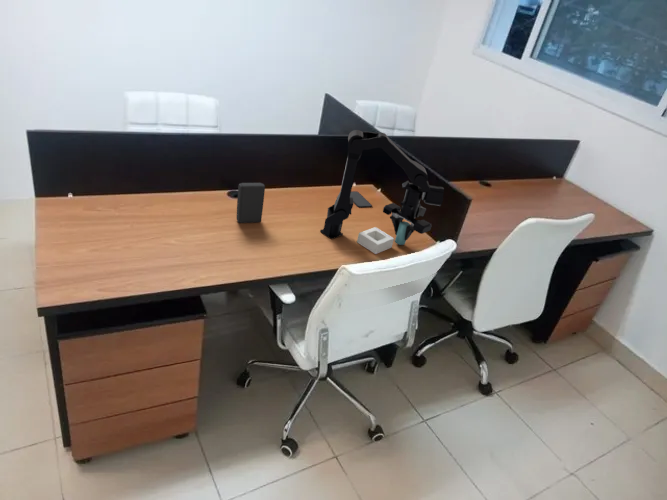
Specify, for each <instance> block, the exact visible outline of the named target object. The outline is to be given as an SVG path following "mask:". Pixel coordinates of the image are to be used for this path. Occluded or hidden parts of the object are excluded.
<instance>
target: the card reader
mask: <svg viewBox="0 0 667 500" xmlns="http://www.w3.org/2000/svg"><path fill="white" fill-rule="evenodd" d="M237 187H238V189H237V200H236V202H237V203H236V222H237V223H240V224H244V223H245V224H246V223H260V222H261V221H262V217H263V208H264V202H265V201H264V200H265V192H266V191H265V189H266V186H265V184H264V183H262V182H241V183H239V184H238V186H237Z"/></svg>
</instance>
